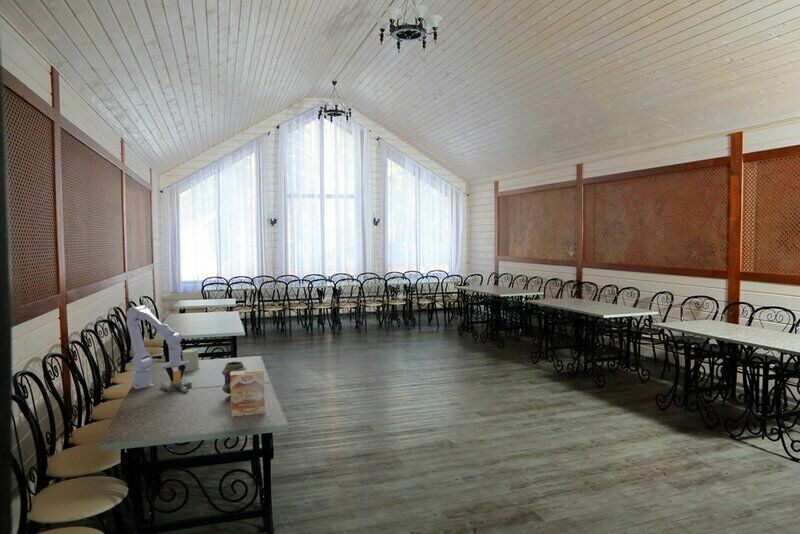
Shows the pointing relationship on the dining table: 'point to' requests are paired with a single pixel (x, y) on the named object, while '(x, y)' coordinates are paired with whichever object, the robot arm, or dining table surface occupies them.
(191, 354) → the can
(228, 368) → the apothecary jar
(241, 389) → the coffeecake box
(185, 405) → the dining table surface
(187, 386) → the bracket head
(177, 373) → the tan cardboard box
